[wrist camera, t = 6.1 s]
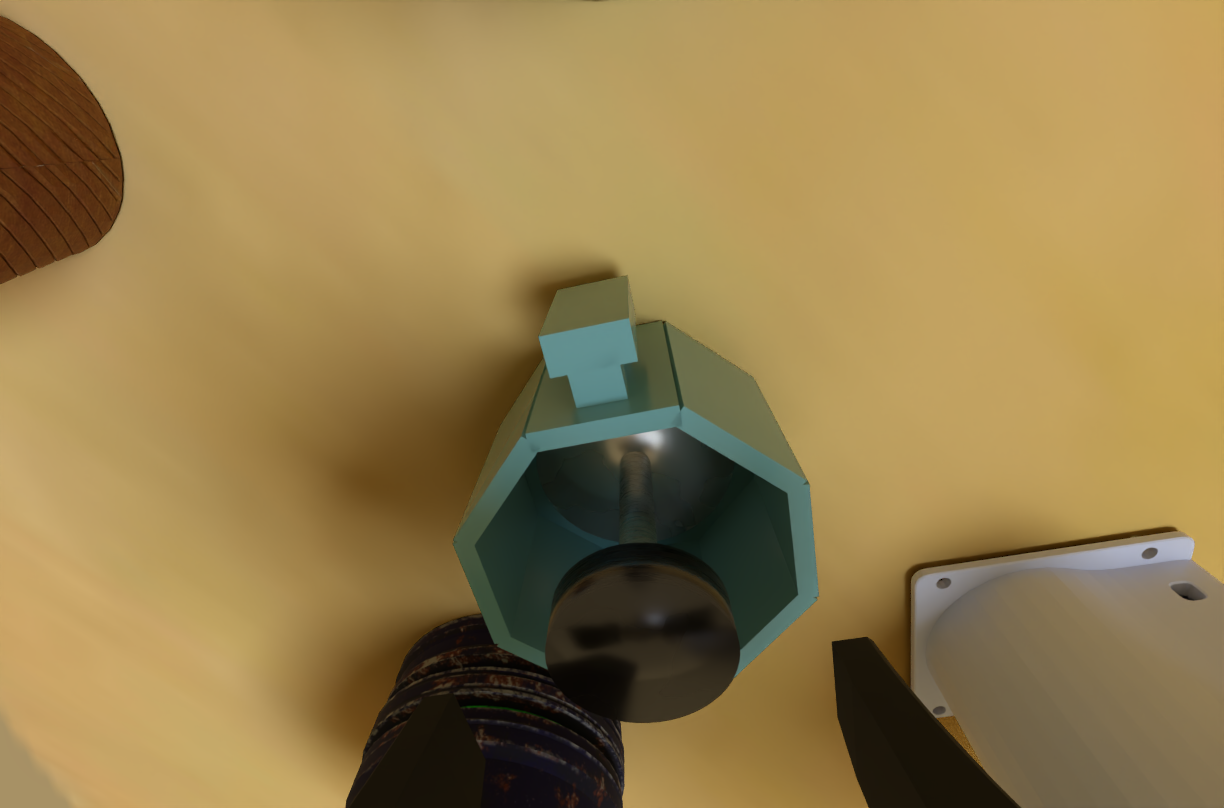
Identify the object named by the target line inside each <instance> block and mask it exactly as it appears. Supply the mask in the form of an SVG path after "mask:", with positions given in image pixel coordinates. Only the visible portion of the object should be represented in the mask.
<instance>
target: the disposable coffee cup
mask: <svg viewBox="0 0 1224 808" xmlns="http://www.w3.org/2000/svg"><path fill="white" fill-rule="evenodd" d="M121 199H122V169H121V161H120V155H119V153H118V150H117V147H116V144H115V141H114V138H113V135H112V133H111V130H110V127H109V124H108V122H107V120H106V118H105V117H104V115H103V113H102V111H101V109H100V107H99V105H98V103H97V102H96V100H95V99H94V97H93V96H92V95H91V93H90V92H89V90H88V89H87V88H86V86H85V85H84V83H83V82H82V80H81V79H80V78H79V76H78V75H77V74H76V73H75V72H74V71H73V70H72V69H71V68H70V67H69V66H68V65H67V64H66V63H65V62H64V61H63V60H62V59H61V58H60V57H59V56H58V55H57V54H56V53H55V52H54V51H53V50H52V49H51V48H49V47H48V46H47V45H46V44H45V43H43V42H42V41H41V40H40V39H38V38H37V37H36V36H35V35H33V34H32V33H30V32H28V31H27V30H25V29H23V28H22V27H20V26H18V25H17V24H15V23H13V22H12V21H10V20H9V19H6V18H4V17H1V16H0V284H2V283H4V282H6V281H9V280H11V279H13V278H15V277H17V276H16V275H19V276H22V275H24V274H26V273H28V272H31V271H33V270H35V269H36V267H38V268H41V267H44V266H46V265H48V264H51V263H53V262H54V260H56V261H59V260H61V259H63V258H66V257H68V256H70V255H74V254H77V253H80V252H82V251H84V250H86V249H88V248H90V247H92V246H93V245H95V244H96V243H97V242H98V241H99V240H100V239H101V238H102V237H103V236H104V235H105V234H106V233H107V232H108V231H109V230H110V228H111V226H112V224H113V222H114V220H115V218H116V216H117V214H118V212H119V208H120V203H121Z"/></svg>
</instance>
